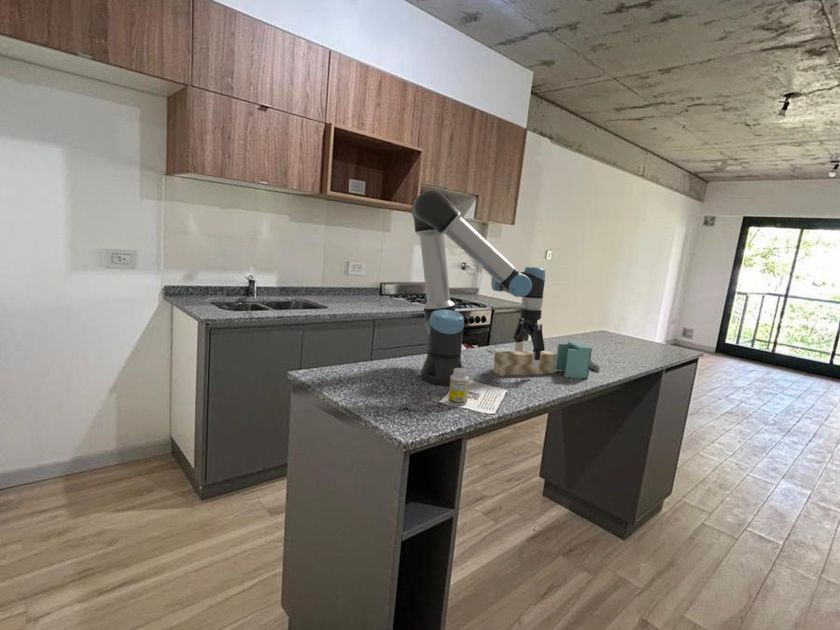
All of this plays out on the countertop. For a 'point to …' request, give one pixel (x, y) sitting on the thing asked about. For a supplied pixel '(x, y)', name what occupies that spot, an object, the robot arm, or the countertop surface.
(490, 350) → the baseboard
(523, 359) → the beige zigzag patterned block
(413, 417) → the countertop surface
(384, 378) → the countertop surface
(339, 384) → the countertop surface
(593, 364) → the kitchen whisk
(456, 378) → the supplement bottle
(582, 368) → the end cap
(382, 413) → the countertop surface
